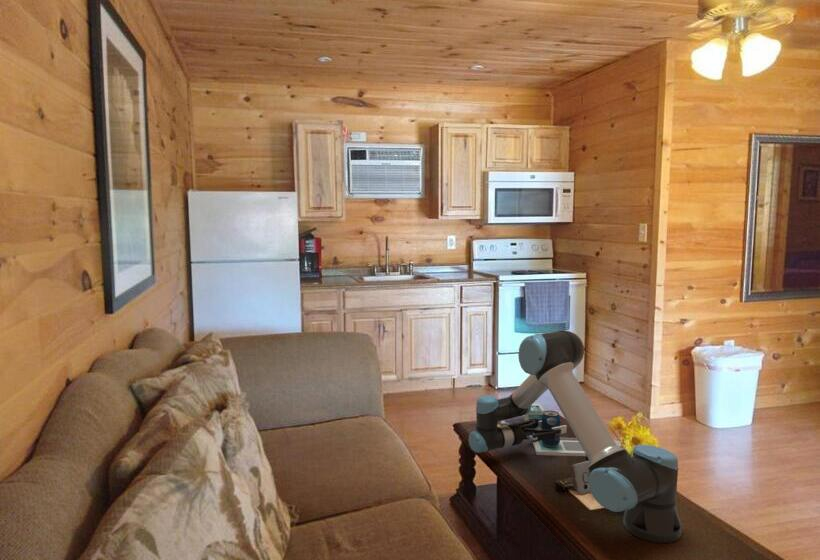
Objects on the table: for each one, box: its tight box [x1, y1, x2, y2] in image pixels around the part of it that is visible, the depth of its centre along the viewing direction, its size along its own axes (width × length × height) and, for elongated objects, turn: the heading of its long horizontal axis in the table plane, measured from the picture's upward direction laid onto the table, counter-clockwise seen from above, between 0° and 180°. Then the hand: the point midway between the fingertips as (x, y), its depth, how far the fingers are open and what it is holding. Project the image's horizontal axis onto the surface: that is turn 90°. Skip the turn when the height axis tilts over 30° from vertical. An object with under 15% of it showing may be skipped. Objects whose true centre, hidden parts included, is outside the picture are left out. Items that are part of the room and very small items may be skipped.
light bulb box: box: [523, 401, 546, 430], centre depth 231 cm, size 11×7×11 cm, turn 179°
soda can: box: [541, 410, 562, 447], centre depth 214 cm, size 7×7×12 cm
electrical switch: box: [569, 460, 591, 495], centre depth 183 cm, size 9×5×9 cm, turn 116°
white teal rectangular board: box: [532, 437, 586, 457], centre depth 215 cm, size 14×20×1 cm
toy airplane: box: [497, 420, 510, 427], centre depth 226 cm, size 9×9×6 cm
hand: (559, 425), depth 215 cm, fingers closed on soda can, 7 cm apart
